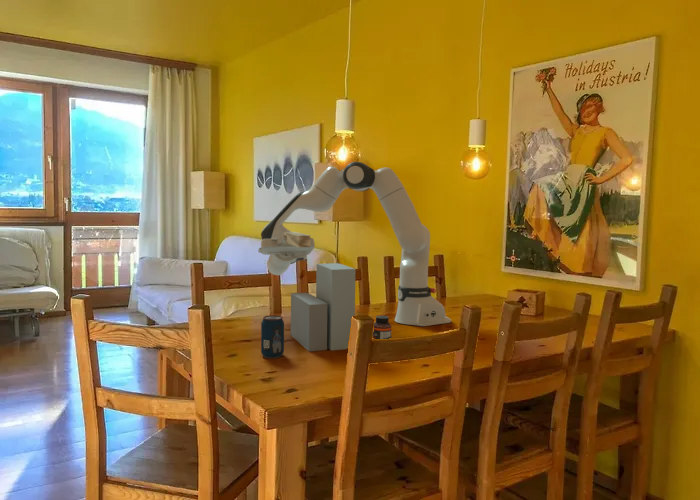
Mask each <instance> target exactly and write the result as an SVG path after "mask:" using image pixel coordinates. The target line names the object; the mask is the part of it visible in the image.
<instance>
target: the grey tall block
mask: <svg viewBox="0 0 700 500" xmlns="http://www.w3.org/2000/svg"><path fill="white" fill-rule="evenodd" d="M315 268H316V271H315V273H316V276H315V277H316V279H315V280H316V281H315V282H316V284H315V287H316V288H315V297H316V298H318V299H320V300H322V301H324V302H325V303H327V304H328V307H327V350H328V349H329V350H330V351H340V350H341V351H342V350H348V349H347V347H348V341H349V334H350V327H351V318H352V316H355V317H356V315H355V314H356V271H357V269H356V268H354V267H351V266H348V265H346V264H342V263H337V262H336V263H316V266H315Z"/></svg>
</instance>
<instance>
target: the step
mask: <svg viewBox="0 0 700 500" xmlns="http://www.w3.org/2000/svg"><path fill="white" fill-rule="evenodd" d="M327 307H328V304H327V303H325V302H324V301H322V300H320V299H318V298H316V295H315V296H314V295H313V294H311V293H309V292H291V293H290V336H291V337H292V338H293V339H295V340H296V341H297V343H299V344H300V345H301V346H303V348H304V349H306V350H307V351H308V352H317V351H318V352H319V351H327V350H328V348H327Z"/></svg>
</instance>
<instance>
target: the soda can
mask: <svg viewBox="0 0 700 500" xmlns="http://www.w3.org/2000/svg"><path fill="white" fill-rule="evenodd" d="M260 326H261V327H260V334H261V335H260V337H261V338H260V352H261V355H262V356H263V357H264V358H266V359H279V358H281V357H282V356H283V354H284V352H285V322H284V320H283V316H281V315H276V314H275V315H266V316H265V315H264V316H263V317H262V320H261V323H260Z"/></svg>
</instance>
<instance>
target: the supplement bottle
mask: <svg viewBox="0 0 700 500" xmlns="http://www.w3.org/2000/svg"><path fill="white" fill-rule="evenodd" d="M373 324H374V332H373V331H372V338H374V339H389V338H391V339H392V324H391V323H390V322H389V316H387V315H376V316H375V322H374V323H373Z"/></svg>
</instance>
